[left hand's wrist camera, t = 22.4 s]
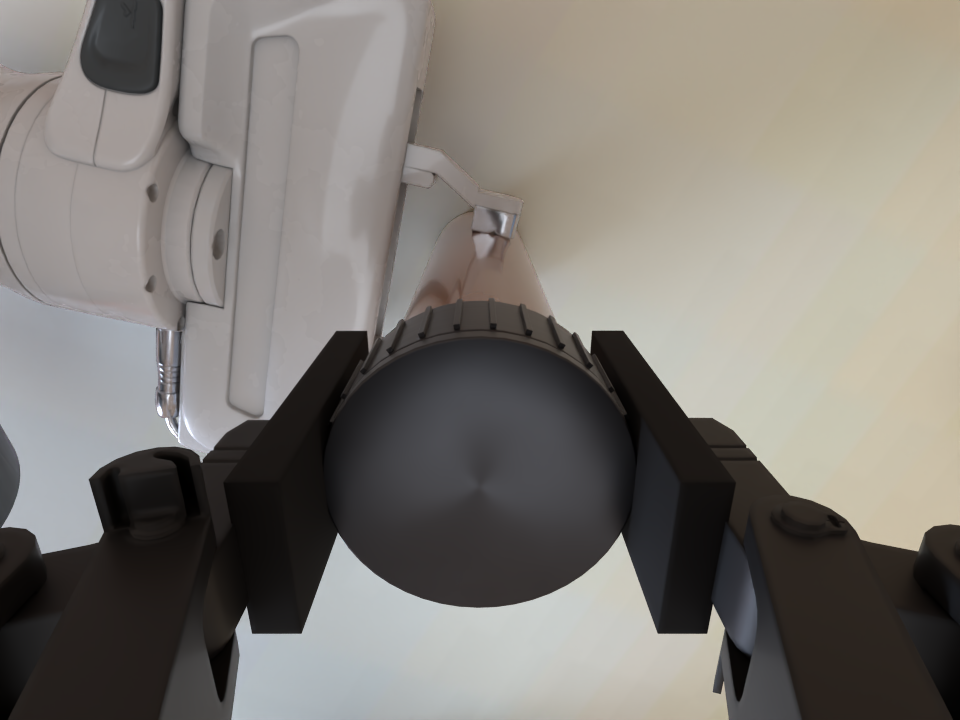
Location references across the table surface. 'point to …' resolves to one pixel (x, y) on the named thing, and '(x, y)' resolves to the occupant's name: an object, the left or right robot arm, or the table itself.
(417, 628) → the table surface
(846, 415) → the table surface
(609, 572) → the table surface
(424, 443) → the lid
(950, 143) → the table surface
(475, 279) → the brown cylinder
